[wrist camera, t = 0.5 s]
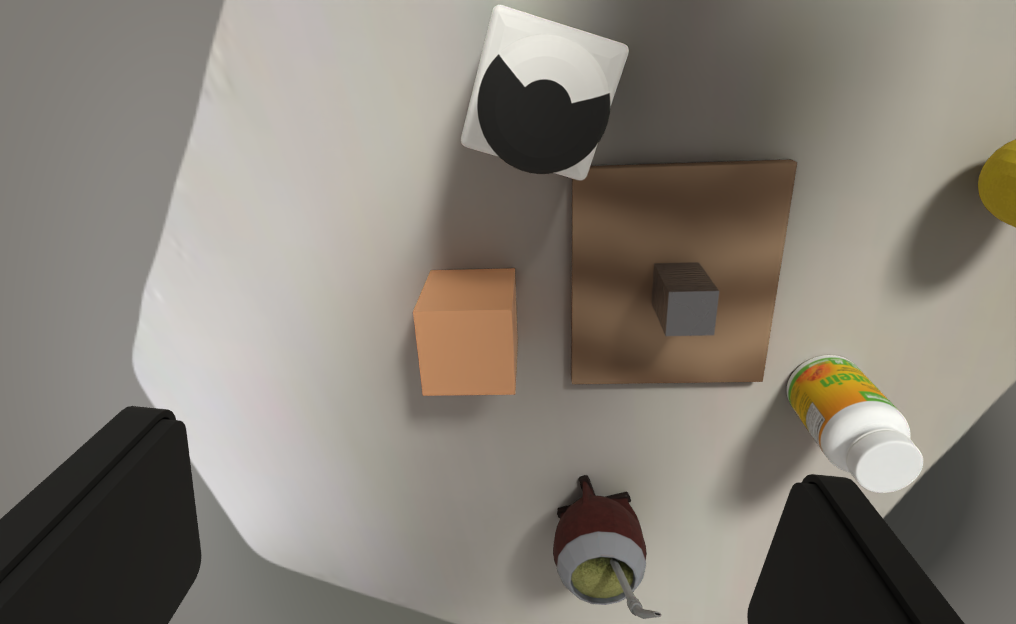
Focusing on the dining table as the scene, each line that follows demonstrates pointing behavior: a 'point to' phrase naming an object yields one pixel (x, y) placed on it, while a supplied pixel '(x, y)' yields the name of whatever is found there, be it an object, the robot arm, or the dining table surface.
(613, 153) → the dining table surface
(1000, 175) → the lemon
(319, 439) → the dining table surface
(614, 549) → the mate gourd
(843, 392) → the supplement bottle
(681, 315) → the post
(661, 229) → the base board
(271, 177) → the dining table surface
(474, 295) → the tan wooden cube
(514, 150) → the medicine bottle
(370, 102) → the dining table surface
